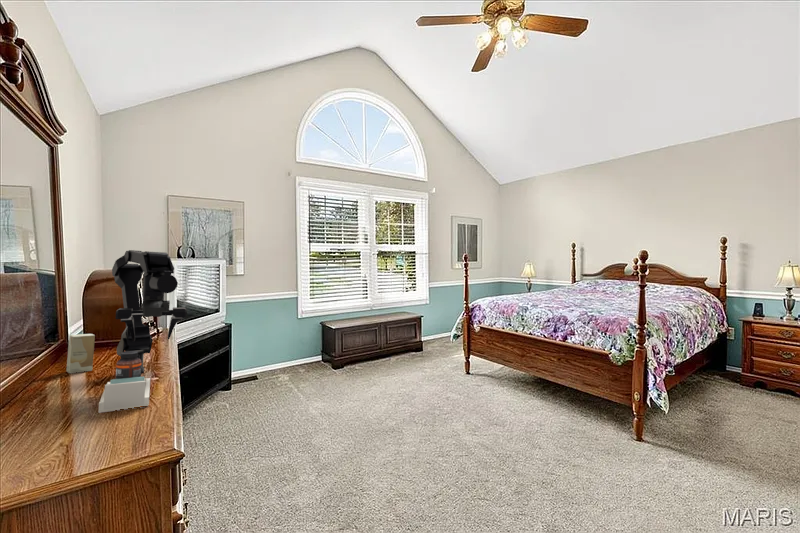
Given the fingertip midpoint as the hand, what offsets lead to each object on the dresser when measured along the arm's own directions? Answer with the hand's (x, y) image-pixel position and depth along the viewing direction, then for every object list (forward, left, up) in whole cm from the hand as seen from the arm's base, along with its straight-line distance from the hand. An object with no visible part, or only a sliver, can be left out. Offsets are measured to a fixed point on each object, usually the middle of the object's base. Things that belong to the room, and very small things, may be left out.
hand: (151, 340), depth 121 cm
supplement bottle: (+12, -5, -13) cm, 18 cm away
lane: (+15, -5, -13) cm, 21 cm away
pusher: (+16, -5, -13) cm, 21 cm away
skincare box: (-22, -20, -13) cm, 33 cm away
